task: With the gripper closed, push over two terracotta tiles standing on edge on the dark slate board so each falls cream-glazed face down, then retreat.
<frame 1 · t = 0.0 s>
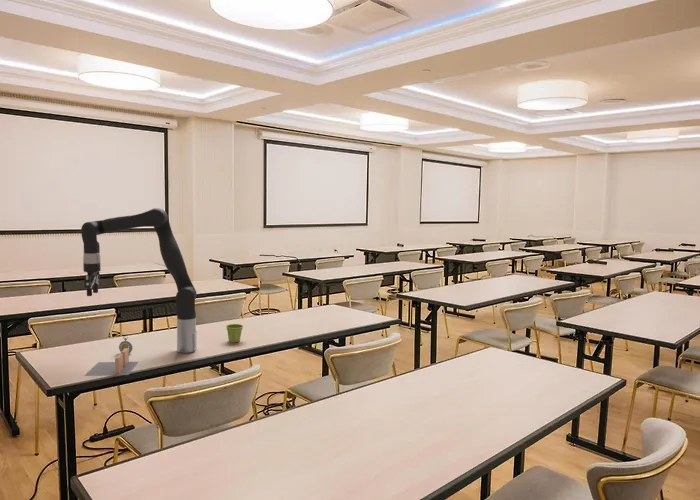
hand: (92, 294, 249), 29 cm above the table, fingers open, 8 cm apart
slate board: (112, 370, 226), on the table
tile near: (119, 371, 222), point 1 cm above the table, touching slate board
pocket watch: (123, 357, 245), on the table
plant pot: (234, 341, 278), on the table
tile far: (125, 364, 231), point 1 cm above the table, touching slate board
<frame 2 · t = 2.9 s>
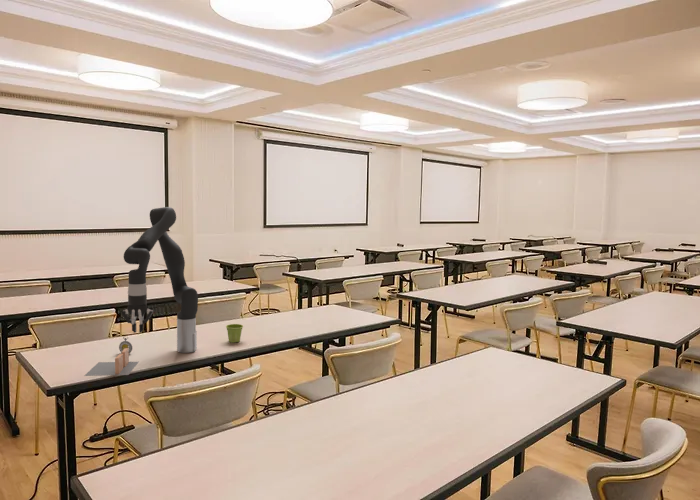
hand: (137, 332, 221), 19 cm above the table, fingers closed
nothing on the table moved.
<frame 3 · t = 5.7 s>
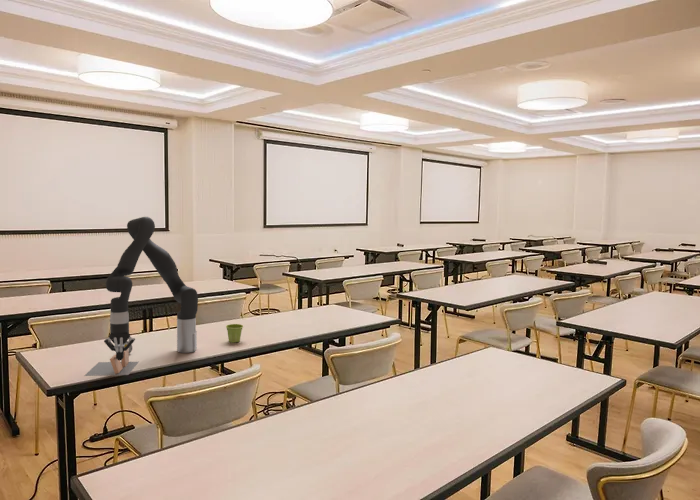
hand: (119, 359, 221), 7 cm above the table, fingers closed
tile near: (119, 371, 222), point 1 cm above the table, tilted 18°, touching slate board
everything else where it was.
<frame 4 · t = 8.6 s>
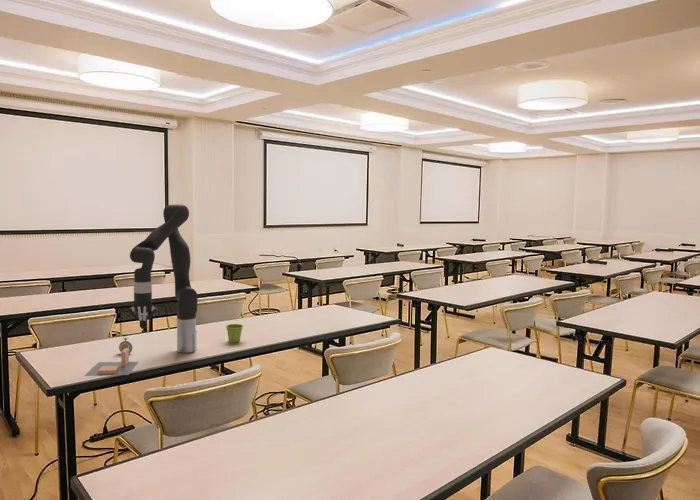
hand: (143, 328, 230), 18 cm above the table, fingers closed
tile near: (117, 369, 222), point 2 cm above the table, tilted 90°, touching slate board
everything else where it was.
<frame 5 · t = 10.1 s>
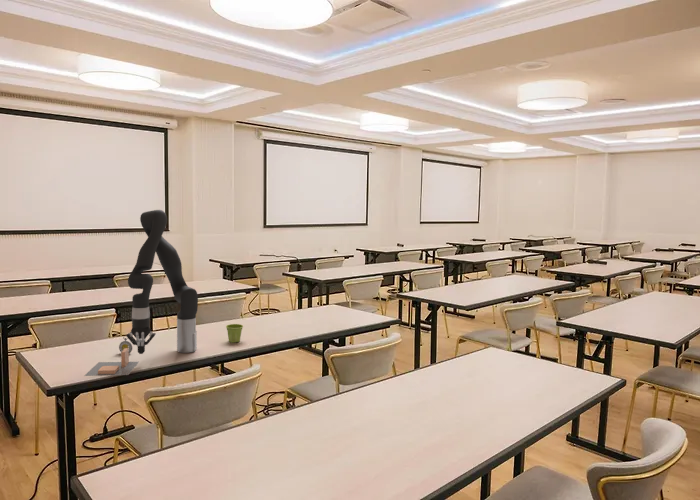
hand: (141, 353, 231), 7 cm above the table, fingers closed
nothing on the table moved.
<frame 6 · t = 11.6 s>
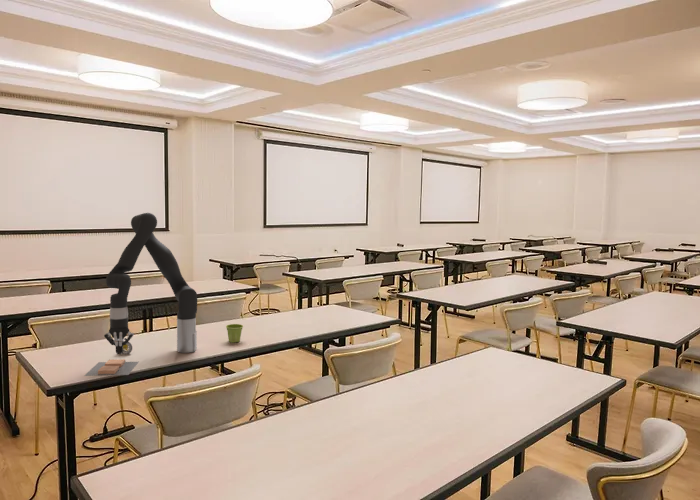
hand: (119, 353, 230), 7 cm above the table, fingers closed
tile far: (123, 363, 231), point 2 cm above the table, tilted 90°, touching slate board
everything else where it was.
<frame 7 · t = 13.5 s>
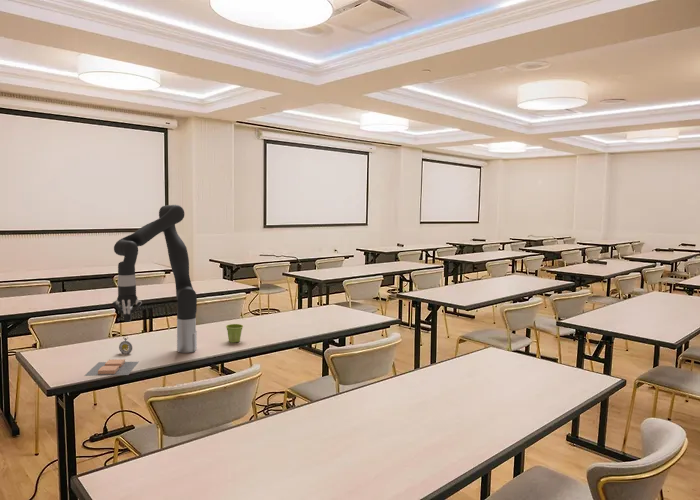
hand: (127, 321, 229), 21 cm above the table, fingers closed
nothing on the table moved.
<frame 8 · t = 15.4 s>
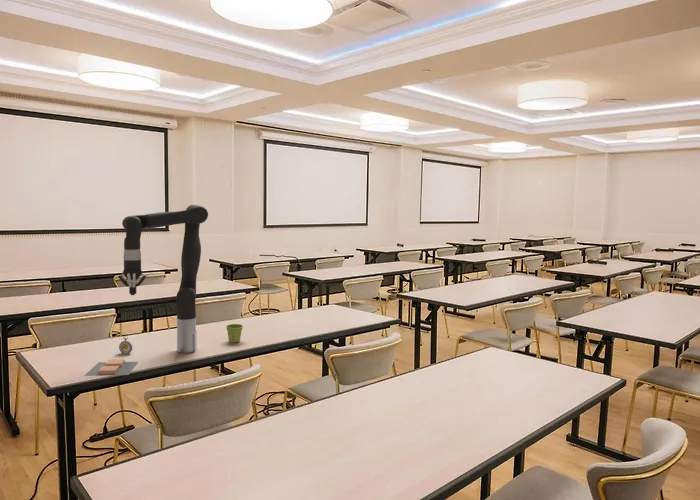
hand: (132, 294, 238), 32 cm above the table, fingers closed
nothing on the table moved.
at the end: tile near tilted 90°; tile far tilted 90°; tile near inside the target area on the slate board (5.8 cm from its centre), point 2.1 cm above the slate board's base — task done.
